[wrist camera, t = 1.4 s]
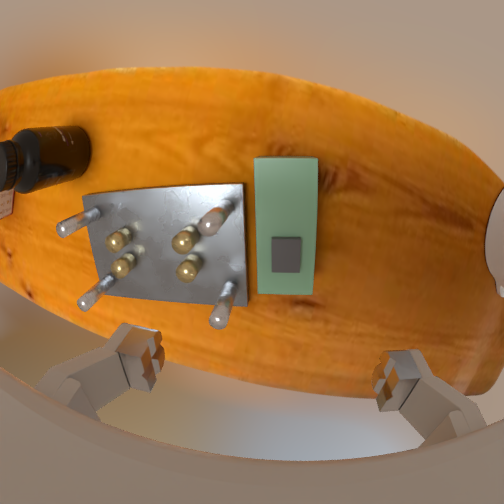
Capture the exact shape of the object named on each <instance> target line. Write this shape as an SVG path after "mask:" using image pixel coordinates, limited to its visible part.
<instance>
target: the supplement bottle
mask: <svg viewBox="0 0 504 504" xmlns="http://www.w3.org/2000/svg"><path fill="white" fill-rule="evenodd" d="M89 157H90V145H89V140H88V137H87V135H86V134H85V132H84V131H83V130H82V129H81V128H79V127H77V126H53V127H38V128H27V129H23V130H21V131H19V132H18V133H17V134H15V136H14V137H13V138H12V139H11V140H6V141H4V142H0V192H3V191H9V190H11V189H14V190H15V191H16V192H18V193H21V194H27V193H31V192H34V191H37V190H40V189H44V188H47V187H50V186H54V185H57V184H61V183H64V182H68V181H71V180H74V179H76V178H78V177H79V176H80V175H81V174H82V173H83V172H84V170H85V169H86V167H87V164H88V161H89Z"/></svg>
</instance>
